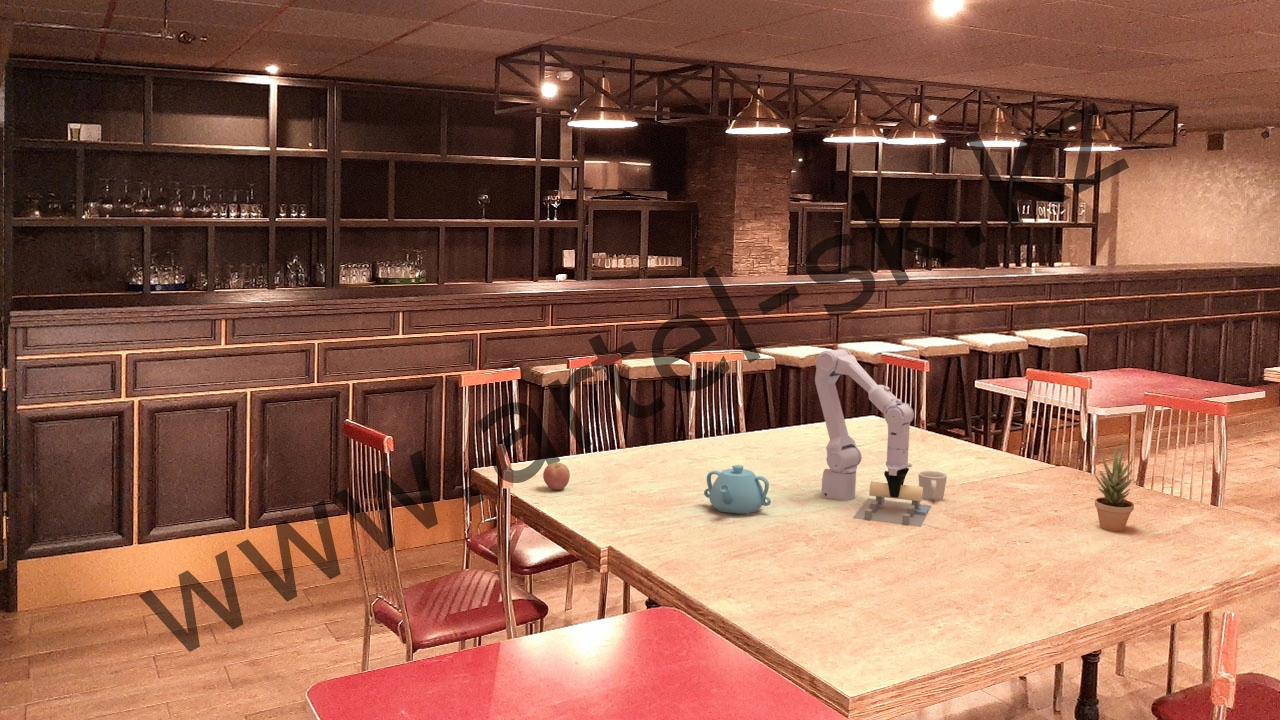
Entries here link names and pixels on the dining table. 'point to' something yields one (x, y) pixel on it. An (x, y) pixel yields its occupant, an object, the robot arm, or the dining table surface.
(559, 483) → the apple
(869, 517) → the board
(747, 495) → the teapot
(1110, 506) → the potted plant
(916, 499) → the tan tapered cylinder
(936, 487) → the cup
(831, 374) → the robot arm
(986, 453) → the dining table surface
